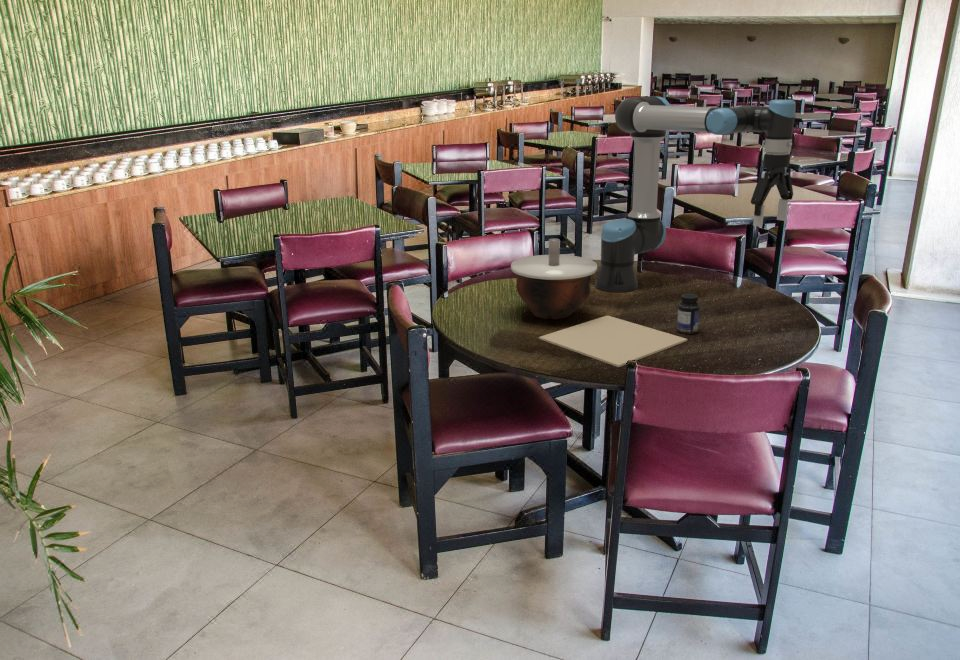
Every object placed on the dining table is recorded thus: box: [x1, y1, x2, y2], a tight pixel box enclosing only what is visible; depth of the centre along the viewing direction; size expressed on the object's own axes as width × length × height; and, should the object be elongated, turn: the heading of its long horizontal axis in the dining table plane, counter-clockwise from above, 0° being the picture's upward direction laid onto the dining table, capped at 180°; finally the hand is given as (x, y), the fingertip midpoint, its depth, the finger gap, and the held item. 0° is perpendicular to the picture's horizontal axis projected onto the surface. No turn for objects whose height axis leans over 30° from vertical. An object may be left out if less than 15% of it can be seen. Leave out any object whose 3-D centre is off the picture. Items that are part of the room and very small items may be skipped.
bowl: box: [515, 274, 592, 321], centre depth 242 cm, size 25×25×15 cm
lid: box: [510, 237, 598, 280], centre depth 238 cm, size 27×27×9 cm
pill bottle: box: [676, 293, 700, 335], centre depth 225 cm, size 6×6×11 cm
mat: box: [538, 315, 688, 368], centre depth 221 cm, size 30×30×1 cm
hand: (769, 223), depth 237 cm, fingers open, 13 cm apart
